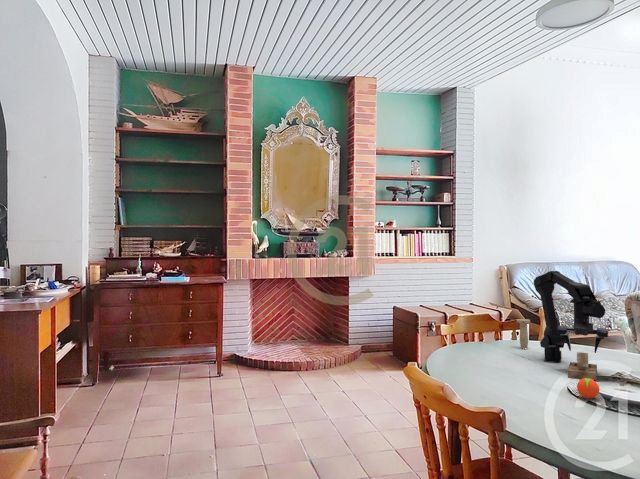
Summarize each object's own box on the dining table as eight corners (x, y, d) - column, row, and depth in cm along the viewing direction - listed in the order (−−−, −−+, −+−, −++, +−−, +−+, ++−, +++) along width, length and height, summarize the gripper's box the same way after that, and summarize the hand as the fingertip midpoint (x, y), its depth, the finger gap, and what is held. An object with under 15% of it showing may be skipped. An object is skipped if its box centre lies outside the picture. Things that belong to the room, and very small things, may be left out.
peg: (577, 373, 197) (576, 354, 197) (577, 370, 200) (577, 352, 200) (588, 374, 194) (587, 355, 195) (588, 371, 198) (588, 353, 198)
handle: (531, 350, 239) (530, 320, 239) (517, 349, 241) (516, 320, 241) (530, 348, 243) (530, 319, 243) (517, 347, 246) (516, 318, 246)
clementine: (599, 403, 160) (598, 382, 160) (576, 400, 164) (575, 379, 164) (599, 396, 167) (599, 376, 167) (577, 393, 171) (577, 374, 171)
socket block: (567, 377, 190) (567, 370, 190) (570, 368, 203) (570, 361, 203) (596, 380, 185) (596, 373, 185) (597, 371, 198) (596, 364, 198)
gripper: (555, 316, 195) (556, 353, 195) (607, 318, 186) (608, 358, 185) (557, 312, 205) (558, 348, 205) (607, 314, 195) (608, 352, 195)
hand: (582, 351), depth 197 cm, fingers open, 9 cm apart
